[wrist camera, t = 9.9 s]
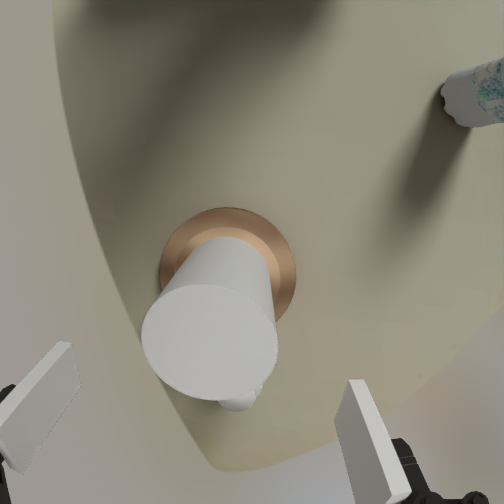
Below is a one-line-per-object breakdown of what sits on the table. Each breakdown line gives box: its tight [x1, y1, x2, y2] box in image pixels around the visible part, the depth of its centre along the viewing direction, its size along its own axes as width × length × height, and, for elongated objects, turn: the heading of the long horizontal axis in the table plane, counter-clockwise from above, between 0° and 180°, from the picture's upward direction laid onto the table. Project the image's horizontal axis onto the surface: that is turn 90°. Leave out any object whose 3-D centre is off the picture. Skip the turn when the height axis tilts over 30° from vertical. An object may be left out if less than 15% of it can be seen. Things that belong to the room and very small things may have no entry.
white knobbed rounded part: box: [218, 384, 262, 411], centre depth 31 cm, size 5×5×7 cm
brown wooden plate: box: [159, 207, 296, 323], centre depth 30 cm, size 13×13×2 cm
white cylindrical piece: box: [141, 237, 278, 400], centre depth 24 cm, size 8×8×12 cm
